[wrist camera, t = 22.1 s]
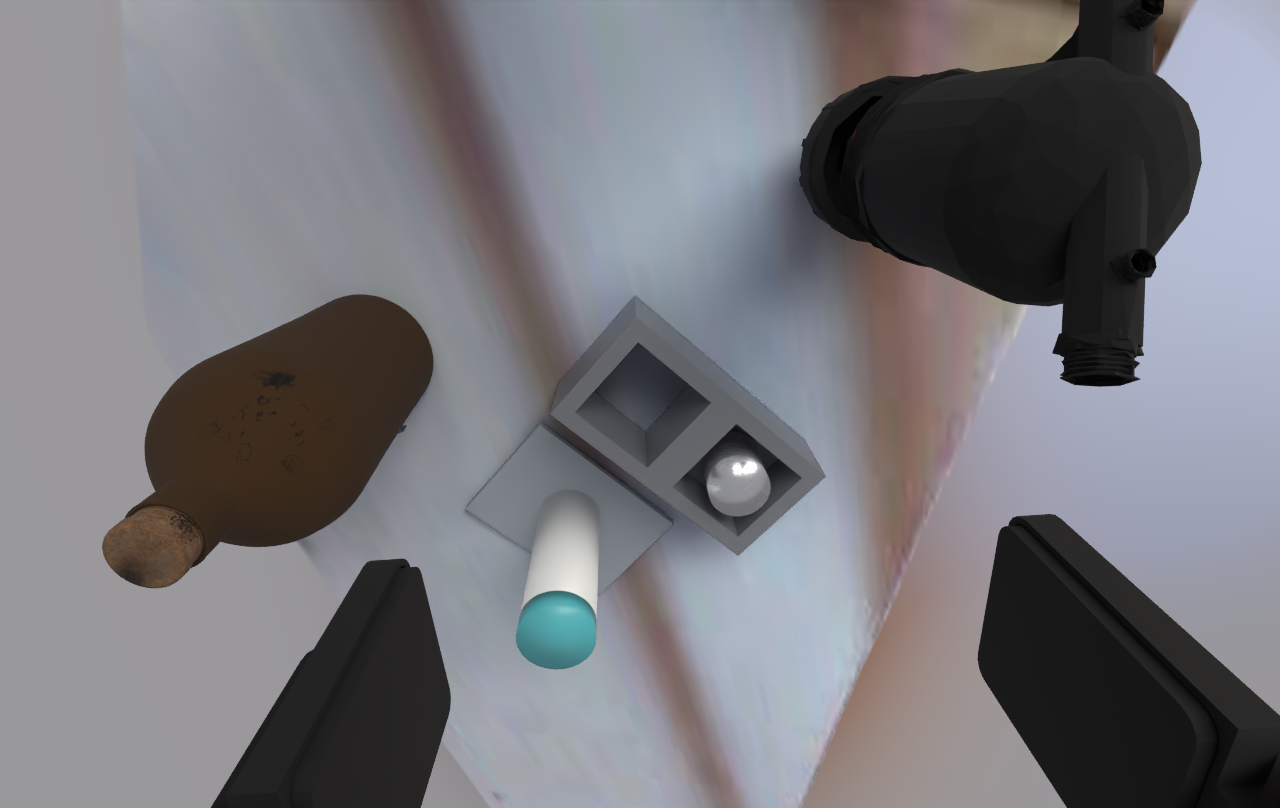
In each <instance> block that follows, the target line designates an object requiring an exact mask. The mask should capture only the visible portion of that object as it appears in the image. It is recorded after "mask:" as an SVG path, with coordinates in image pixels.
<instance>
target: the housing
mask: <svg viewBox="0 0 1280 808" xmlns="http://www.w3.org/2000/svg"><path fill="white" fill-rule="evenodd" d="M637 343H639V344H641V345H642V346H643V347H644V348H646V349H647V350H648V351H649V352H650V353H652V354H653V355H654V356H655V357H656V358H658V359H659V360H660V361H661V362H662V363H664V364H665V365H666V366H667V367H668V368H670V369H671V370H672V371H673V372H675V373H676V374H677V375H678V376H679V377H681V378H682V379H683V380H684V381H685V382H687V383H688V384H689V387H688V388H687V389H686V390H685V391H684V392H683V393H682V394H681V395H680V396H679V397H678V398H677V399H676V400H675V401H674V402H673V403H672V404H671V405H670V406H669V407H668V408H667V409H666V411H665V412H664V413H663V414H662V415H661V416H660V417H659V418H658V419H657V420H656V421H655V422H654V423H653V424H652V425H651V426H650V427H649V428H648V429H647V430H646V431H644V430H642V429H641V428H640V427H639V426H637V425H636V424H635V423H633V422H632V421H631V420H630V419H628V418H627V417H626V416H624V415H623V414H622V413H621V412H619V411H618V410H617V409H615V408H614V407H613V406H612V405H610V404H609V403H608V402H607V401H605V400H604V399H603V398H601V397H600V396H599V395H598V394H596V393H595V392H594V391H595V390H596V388H597V387H598V386H599V385H600V384H601V383H602V382H603V381H604V380H605V378H606V377H607V376H608V375H609V374H610V373H611V372H612V371H613V370H614V369H615V367H616V366H617V365H618V364H619V363H620V362H621V361H622V360H623V359H624V357H625V356H626V355H627V354H628V353H629V352H630V351H631V350H632V349H633V347H634V346H635V345H636V344H637ZM550 415H551V416H553V417H554V418H555V419H557V420H558V421H559V422H561V423H562V424H563V425H565V426H566V427H567V428H569V429H570V430H571V431H573V432H574V433H575V434H577V435H578V436H579V437H581V438H582V439H583V440H585V441H586V442H587V443H589V444H590V445H591V446H593V447H594V448H595V449H597V450H598V451H599V452H601V453H602V454H603V455H605V456H606V457H607V458H609V459H610V460H611V461H613V462H614V463H615V464H617V465H618V466H619V467H621V468H622V469H623V470H625V471H626V472H627V473H629V474H630V475H631V476H633V477H634V478H635V479H637V480H638V481H639V482H641V483H642V484H643V485H645V486H646V487H647V488H649V489H650V490H651V491H653V492H654V493H655V494H657V495H658V496H659V497H661V498H662V499H663V500H665V501H666V502H667V503H669V504H670V505H671V506H673V507H674V508H675V509H677V510H678V511H679V512H681V513H682V514H683V515H684V516H686V517H687V518H688V519H690V520H691V521H692V522H694V523H695V524H696V525H698V526H699V527H700V528H702V529H703V530H704V531H706V532H707V533H708V534H710V535H711V536H712V537H714V538H715V539H716V540H718V541H719V542H720V543H722V544H723V545H724V546H726V547H727V548H728V549H730V550H731V551H732V552H734V553H735V554H736V555H740V554H741V553H742V552H743V551H744V550H745V549H746V548H747V547H748V546H749V545H751V544H752V543H753V542H754V541H755V540H756V539H757V538H758V537H759V536H761V535H762V534H763V533H764V532H765V531H766V530H767V529H768V528H769V527H770V526H772V525H773V524H774V523H775V522H776V521H777V520H778V519H779V518H780V517H782V516H783V515H784V514H785V513H786V512H787V511H788V510H789V509H790V508H791V507H793V506H794V505H795V504H796V503H797V502H798V501H799V500H800V499H801V498H802V497H804V496H805V495H806V494H807V493H808V492H809V491H810V490H811V489H812V488H814V487H815V486H816V485H817V484H818V483H819V482H820V481H821V480H822V479H823V478H825V477H826V476H825V474H824V472H823V471H822V469H821V467H820V465H819V464H818V462H817V460H816V458H815V457H814V455H813V453H812V451H811V450H810V448H809V446H808V444H807V443H806V441H805V439H803V438H802V437H801V436H800V435H799V434H798V433H796V432H795V431H794V430H793V429H792V428H791V427H789V426H788V425H787V424H786V423H785V422H783V421H782V420H781V419H780V418H779V417H778V416H776V415H775V414H774V413H773V412H772V411H771V410H769V409H768V408H767V407H766V406H765V405H764V404H762V403H761V402H760V401H759V400H758V399H756V398H755V397H754V396H753V395H752V394H751V393H749V392H748V391H747V390H746V389H745V388H744V387H742V386H741V385H740V384H739V383H738V382H737V381H735V380H734V379H733V378H732V377H731V376H729V375H728V374H727V373H726V372H725V371H724V370H722V369H721V368H720V367H719V366H718V365H717V364H715V363H714V362H713V361H712V360H711V359H710V358H708V357H707V356H706V355H705V354H704V353H702V352H701V351H700V350H699V349H698V348H697V347H695V346H694V345H693V344H692V343H691V342H690V341H688V340H687V339H686V338H685V337H684V336H683V335H681V334H680V333H679V332H678V331H677V330H675V329H674V328H673V327H672V326H671V325H670V324H668V323H667V322H666V321H665V320H664V319H663V318H661V317H660V316H659V315H658V314H657V313H656V312H654V311H653V310H652V309H651V308H650V307H648V306H647V305H646V304H645V303H644V302H643V301H641V300H640V299H639V298H638V297H637V296H636V295H635V296H634V297H633V298H632V299H631V301H630V302H629V303H628V304H627V305H626V306H625V307H624V309H623V310H622V311H621V312H620V313H619V314H618V315H617V316H616V318H615V319H614V320H613V321H612V322H611V323H610V324H609V326H608V327H607V328H606V329H605V330H604V331H603V332H602V334H601V335H600V336H599V337H598V338H597V339H596V340H595V342H594V343H593V344H592V345H591V346H590V347H589V348H588V350H587V351H586V352H585V353H584V354H583V355H582V356H581V358H580V359H579V360H578V361H577V362H576V363H575V364H574V366H573V367H572V368H571V369H570V370H569V371H568V372H567V374H566V375H565V376H564V377H563V378H562V379H561V380H560V382H559V383H558V386H557V390H556V394H555V397H554V401H553V405H552V409H551V412H550ZM729 431H736V432H740V433H743V434H745V435H747V436H748V437H749V438H750V439H751V440H752V441H753V442H754V444H755V446H756V448H757V450H758V453H759V455H760V458H761V460H762V463H763V465H764V468H765V470H766V473H767V475H768V478H769V480H770V486H771V489H770V495H769V497H768V499H767V501H766V502H765V504H764V505H763V506H762V507H761V508H760V509H758V510H757V511H755V512H753V513H751V514H749V515H745V516H730V515H726V514H724V513H722V512H720V511H718V510H717V509H716V508H715V507H714V506H713V504H712V503H711V501H710V499H709V495H708V490H707V486H706V481H705V477H704V472H703V468H702V463H701V458H702V457H703V456H704V455H705V454H706V453H707V452H708V451H709V450H710V449H711V448H712V447H713V446H714V445H715V444H716V443H718V442H719V441H720V440H721V439H722V438H723V437H724V436H725V435H726V434H727V433H728V432H729Z"/></svg>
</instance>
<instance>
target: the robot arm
mask: <svg viewBox="0 0 1280 808" xmlns="http://www.w3.org/2000/svg"><path fill="white" fill-rule="evenodd" d="M978 664H979V669H980V672H981V674H982V677H983V678H984V680H985V682H986V683H987V685H988V687H989V688H990V690H991V691H992V693H993V694H994V696H995V697H996V699H997V700H998V702H999V704H1000V705H1001V706H1002V708H1003V710H1004V711H1005V713H1006V714H1007V716H1008V717H1009V719H1010V720H1011V722H1012V724H1013V725H1014V727H1015V728H1016V730H1017V731H1018V733H1019V734H1020V736H1021V737H1022V739H1023V741H1024V742H1025V744H1026V745H1027V747H1028V748H1029V750H1030V751H1031V753H1032V754H1033V756H1034V758H1035V759H1036V761H1037V762H1038V764H1039V765H1040V767H1041V768H1042V770H1043V771H1044V773H1045V774H1046V776H1047V778H1048V779H1049V781H1050V782H1051V784H1052V785H1053V787H1054V788H1055V790H1056V791H1057V793H1058V795H1059V796H1060V798H1061V799H1062V801H1063V802H1064V804H1065V805H1066V807H1067V808H1280V715H1278V714H1277V713H1276V712H1275V711H1274V710H1273V709H1272V708H1271V707H1270V706H1268V705H1267V704H1266V703H1265V702H1264V701H1263V700H1262V699H1261V698H1260V697H1258V696H1257V695H1256V694H1255V693H1254V692H1253V691H1252V690H1251V689H1250V688H1248V687H1247V686H1246V685H1245V684H1244V683H1243V682H1242V681H1241V680H1240V679H1238V678H1237V677H1236V676H1235V675H1234V674H1233V673H1232V672H1231V671H1230V670H1228V669H1227V668H1226V667H1225V666H1224V665H1223V664H1222V663H1221V662H1220V661H1218V660H1217V659H1216V658H1215V657H1214V656H1213V655H1212V654H1211V653H1210V652H1208V651H1207V650H1206V649H1205V648H1204V647H1203V646H1202V645H1201V644H1200V643H1198V642H1197V641H1196V640H1195V639H1194V638H1193V637H1192V636H1191V635H1189V634H1188V633H1187V632H1186V631H1185V630H1184V629H1183V628H1182V627H1181V626H1180V625H1178V624H1177V623H1176V622H1175V621H1174V620H1173V619H1172V618H1171V617H1169V616H1168V615H1167V614H1166V613H1165V612H1164V611H1163V610H1162V609H1161V608H1159V607H1158V606H1157V605H1156V604H1155V603H1154V602H1153V601H1152V600H1150V599H1149V598H1148V597H1147V596H1146V595H1145V594H1144V593H1143V592H1142V591H1141V590H1139V589H1138V588H1137V587H1136V586H1135V585H1134V584H1133V583H1132V582H1130V581H1129V580H1128V579H1127V578H1126V577H1125V576H1124V575H1123V574H1122V573H1121V572H1119V571H1118V570H1117V569H1116V568H1115V567H1114V566H1113V565H1112V564H1110V563H1109V562H1108V561H1107V560H1106V559H1105V558H1104V557H1103V556H1102V555H1101V554H1099V553H1098V552H1097V551H1096V550H1095V549H1094V548H1093V547H1092V546H1091V545H1089V544H1088V543H1087V542H1086V541H1085V540H1084V539H1083V538H1082V537H1081V536H1079V535H1078V534H1077V533H1076V532H1075V531H1074V530H1073V529H1072V528H1070V527H1069V526H1068V525H1067V524H1066V523H1065V522H1064V521H1063V520H1062V519H1060V518H1059V517H1057V516H1056V515H1052V514H1045V515H1030V516H1016V517H1014V518H1012V520H1011V521H1010V522H1009V526H1005V527H1003V528H1002V529H1001V530H1000V533H999V535H998V541H997V547H996V553H995V559H994V564H993V570H992V576H991V582H990V587H989V593H988V599H987V604H986V610H985V616H984V622H983V628H982V634H981V640H980V645H979V651H978ZM450 702H451V696H450V688H449V684H448V680H447V676H446V672H445V668H444V664H443V660H442V655H441V651H440V647H439V643H438V639H437V635H436V631H435V627H434V623H433V619H432V615H431V611H430V607H429V602H428V598H427V594H426V590H425V586H424V582H423V578H422V574H421V571H420V569H419V568H418V567H410V565H409V563H408V562H407V560H405V559H391V560H377V561H369V562H367V563H366V564H365V565H364V567H363V568H362V570H361V572H360V573H359V575H358V577H357V578H356V580H355V582H354V583H353V585H352V587H351V588H350V590H349V592H348V593H347V595H346V597H345V598H344V600H343V602H342V603H341V605H340V607H339V608H338V610H337V612H336V613H335V615H334V617H333V618H332V620H331V622H330V623H329V625H328V627H327V628H326V630H325V632H324V633H323V635H322V636H321V638H320V640H319V641H318V643H317V645H316V646H315V648H314V649H313V650H312V651H310V652H308V653H307V654H306V655H305V656H304V658H303V659H302V660H301V661H300V663H299V665H298V666H297V668H296V670H295V671H294V673H293V675H292V676H291V678H290V679H289V681H288V683H287V684H286V686H285V688H284V689H283V691H282V692H281V694H280V696H279V697H278V699H277V701H276V703H275V704H274V706H273V707H272V709H271V710H270V712H269V714H268V715H267V717H266V719H265V720H264V722H263V723H262V725H261V727H260V728H259V730H258V732H257V733H256V735H255V736H254V738H253V740H252V741H251V743H250V745H249V746H248V748H247V749H246V751H245V753H244V755H243V756H242V758H241V759H240V761H239V763H238V764H237V766H236V768H235V769H234V771H233V772H232V774H231V776H230V777H229V779H228V780H227V782H226V784H225V785H224V787H223V789H222V790H221V792H220V794H219V795H218V797H217V799H216V800H215V802H214V803H213V805H212V807H211V808H421V805H422V801H423V797H424V795H425V791H426V788H427V784H428V781H429V778H430V775H431V772H432V768H433V765H434V762H435V758H436V755H437V752H438V749H439V745H440V742H441V739H442V735H443V732H444V729H445V726H446V722H447V719H448V716H449V711H450Z"/></svg>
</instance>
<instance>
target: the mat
mask: <svg viewBox="0 0 1280 808" xmlns="http://www.w3.org/2000/svg"><path fill="white" fill-rule="evenodd" d="M564 490H575V491H579V492H582V493H584V494H586V495H588V496H589V497H591V498H592V499H593V500H594V501H595V503H596V504H597V506H598V508H599V512H600V533H599V562H598V591H597V597H598V596H599V595H600V594H601V593H602V592H603V591H604V590H605V589H606V588H607V587H608V586H609V585H610V584H611V583H612V582H614V581H615V580H616V579H617V578H618V577H619V576H620V575H621V574H622V573H623V572H624V571H625V570H626V569H627V568H628V567H629V566H630V565H631V564H632V563H633V562H634V561H635V560H636V559H637V558H638V557H639V556H640V555H641V554H643V553H644V552H645V551H646V550H647V549H648V548H649V547H650V546H651V545H652V544H653V543H654V542H655V541H656V540H657V539H658V538H659V537H660V536H661V535H662V534H663V533H664V532H665V531H666V530H667V529H668V528H669V527H671V526H672V525H673V520H672V519H671V518H669V517H668V516H667V515H665V514H664V513H663V512H661V511H660V510H658V509H657V508H656V507H654V506H653V505H652V504H650V503H649V502H648V501H646V500H645V499H644V498H642V497H641V496H640V495H638V494H637V493H636V492H634V491H633V490H632V489H630V488H629V487H628V486H626V485H625V484H624V483H622V482H621V481H620V480H618V479H617V478H615V477H614V476H613V475H611V474H610V473H609V472H607V471H606V470H605V469H603V468H602V467H601V466H599V465H598V464H597V463H595V462H594V461H593V460H591V459H590V458H589V457H587V456H586V455H585V454H583V453H582V452H581V451H579V450H578V449H577V448H575V447H574V446H572V445H571V444H570V443H568V442H567V441H566V440H564V439H563V438H562V437H560V436H559V435H558V434H556V433H555V432H554V431H552V430H551V429H550V428H548V427H547V426H546V425H544V424H543V423H542V422H540V424H539V425H538V426H537V427H536V428H535V429H534V430H533V431H532V433H531V434H530V435H529V436H528V437H527V438H526V439H525V440H524V442H523V443H522V444H521V445H520V446H519V447H518V448H517V449H516V451H515V452H514V453H513V454H512V455H511V456H510V457H509V458H508V460H507V461H506V462H505V463H504V464H503V465H502V466H501V467H500V469H499V470H498V471H497V472H496V473H495V474H494V475H493V477H492V478H491V479H490V480H489V481H488V482H487V483H486V484H485V486H484V487H483V488H482V489H481V490H480V491H479V492H478V493H477V495H476V496H475V497H474V498H473V499H472V500H471V501H470V502H469V504H468V505H467V506H466V510H467V511H469V512H470V513H472V514H473V515H475V516H476V517H478V518H479V519H481V520H482V521H484V522H485V523H487V524H488V525H490V526H491V527H493V528H494V529H496V530H497V531H499V532H500V533H502V534H503V535H505V536H506V537H508V538H509V539H511V540H512V541H514V542H515V543H516V544H518V545H519V546H521V547H522V548H524V549H525V550H527V551H528V552H530V553H531V554H532V550H533V544H534V539H535V534H536V529H537V523H538V518H539V513H540V509H541V506H542V504H543V503H544V501H545V500H546V499H547V498H548V497H549V496H551V495H552V494H554V493H556V492H559V491H564Z"/></svg>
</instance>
